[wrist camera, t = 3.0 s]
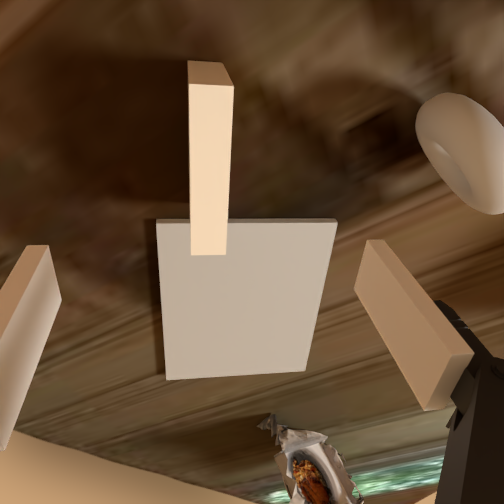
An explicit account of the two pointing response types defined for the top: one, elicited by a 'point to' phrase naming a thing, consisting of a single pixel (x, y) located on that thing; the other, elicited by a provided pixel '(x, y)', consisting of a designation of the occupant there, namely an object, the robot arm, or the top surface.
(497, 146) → the donut
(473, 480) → the robot arm
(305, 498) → the meal
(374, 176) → the top surface
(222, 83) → the block
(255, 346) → the mat
